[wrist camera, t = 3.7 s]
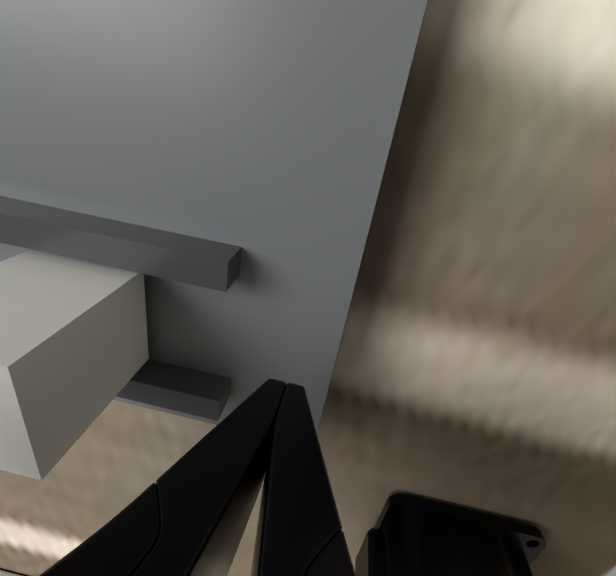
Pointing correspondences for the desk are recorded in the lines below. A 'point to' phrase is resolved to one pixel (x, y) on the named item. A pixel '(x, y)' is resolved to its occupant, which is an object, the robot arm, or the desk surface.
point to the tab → (62, 352)
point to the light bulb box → (7, 573)
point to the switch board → (207, 172)
